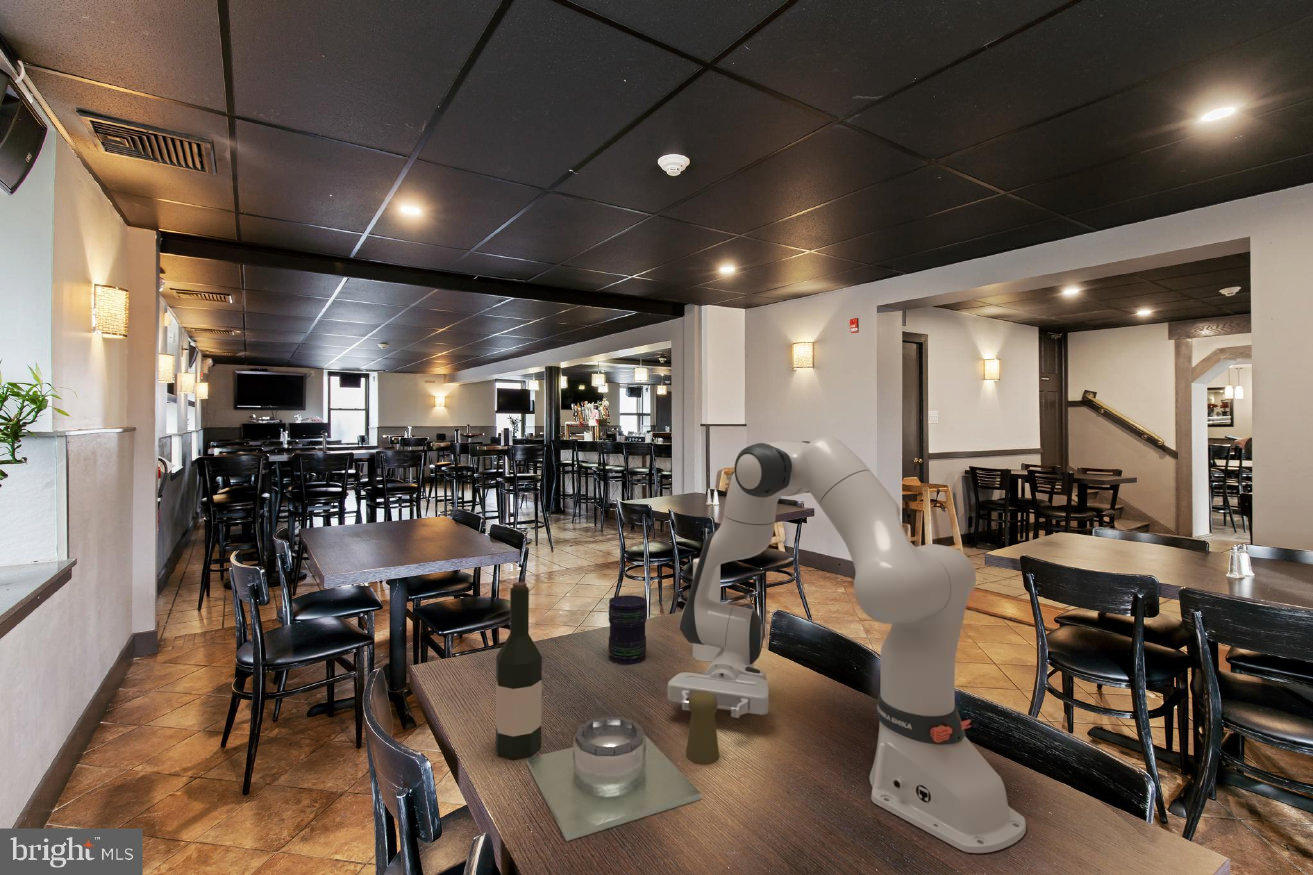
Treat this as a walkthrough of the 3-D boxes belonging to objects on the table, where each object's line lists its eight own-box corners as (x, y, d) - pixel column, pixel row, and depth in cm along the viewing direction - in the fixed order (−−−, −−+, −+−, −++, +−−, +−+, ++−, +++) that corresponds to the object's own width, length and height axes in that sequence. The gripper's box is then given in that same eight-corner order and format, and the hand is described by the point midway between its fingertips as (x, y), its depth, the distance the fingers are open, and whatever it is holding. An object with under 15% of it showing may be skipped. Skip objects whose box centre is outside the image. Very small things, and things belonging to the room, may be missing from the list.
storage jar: (654, 657, 153) (654, 599, 153) (627, 668, 145) (628, 607, 145) (626, 648, 159) (627, 593, 159) (600, 658, 152) (600, 600, 152)
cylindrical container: (724, 654, 155) (725, 560, 155) (712, 663, 149) (712, 564, 149) (700, 649, 159) (701, 557, 159) (687, 657, 152) (688, 561, 153)
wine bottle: (525, 731, 113) (527, 576, 113) (550, 748, 107) (551, 583, 108) (486, 747, 107) (487, 583, 108) (510, 765, 101) (511, 591, 102)
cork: (717, 766, 102) (718, 702, 102) (683, 762, 103) (683, 699, 103) (721, 748, 108) (721, 688, 108) (688, 744, 109) (688, 685, 109)
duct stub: (700, 799, 92) (701, 748, 92) (566, 841, 82) (566, 784, 82) (641, 735, 112) (641, 693, 112) (526, 763, 102) (527, 717, 102)
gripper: (677, 660, 127) (657, 685, 113) (773, 672, 120) (763, 700, 107) (677, 689, 126) (657, 718, 113) (773, 703, 120) (763, 735, 107)
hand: (709, 709), depth 110 cm, fingers open, 8 cm apart
